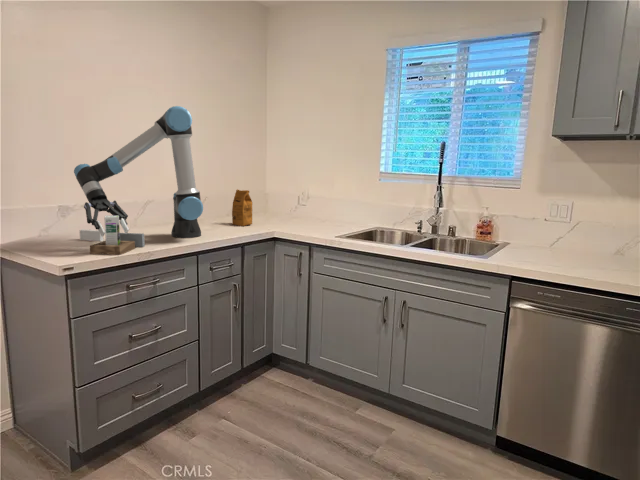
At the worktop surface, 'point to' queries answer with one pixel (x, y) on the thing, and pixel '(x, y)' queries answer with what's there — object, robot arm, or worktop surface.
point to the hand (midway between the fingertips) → (115, 232)
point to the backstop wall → (133, 238)
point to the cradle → (112, 248)
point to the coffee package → (242, 208)
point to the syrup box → (112, 230)
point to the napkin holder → (90, 235)
